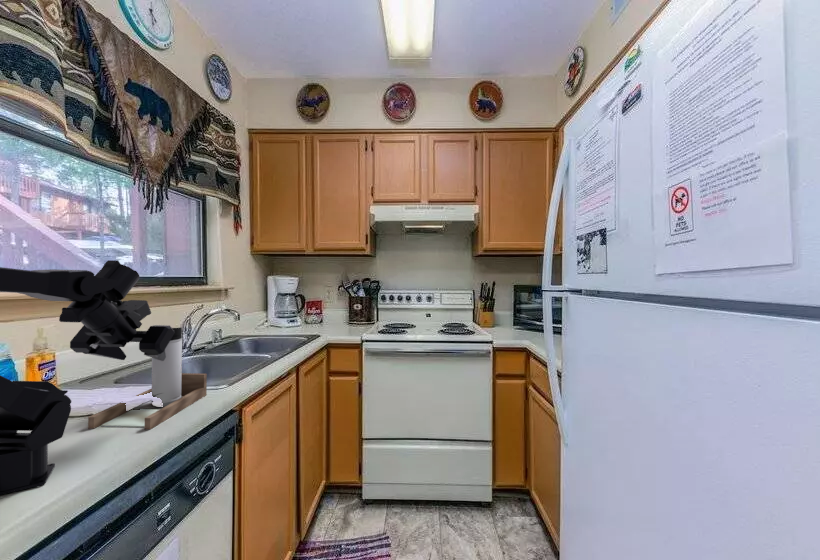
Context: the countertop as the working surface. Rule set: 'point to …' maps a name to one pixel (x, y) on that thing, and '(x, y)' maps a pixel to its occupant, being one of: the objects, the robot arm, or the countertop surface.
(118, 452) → the countertop surface
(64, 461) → the countertop surface
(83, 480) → the countertop surface
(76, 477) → the countertop surface
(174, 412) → the shelf lane
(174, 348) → the travel mug
